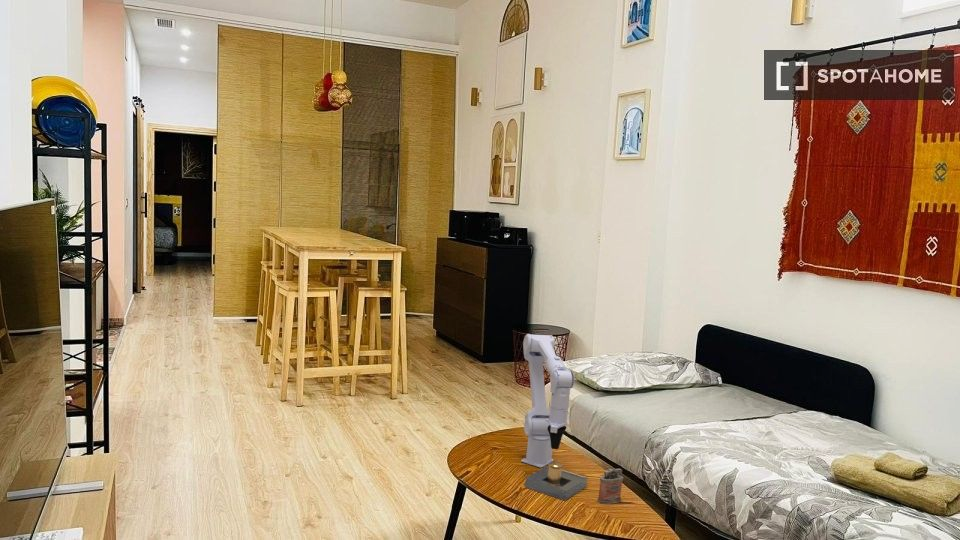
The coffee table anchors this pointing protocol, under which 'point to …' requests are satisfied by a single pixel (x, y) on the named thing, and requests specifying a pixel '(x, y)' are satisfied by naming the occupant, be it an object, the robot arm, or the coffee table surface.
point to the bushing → (554, 473)
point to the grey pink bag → (610, 487)
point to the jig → (567, 487)
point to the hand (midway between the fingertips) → (554, 448)
